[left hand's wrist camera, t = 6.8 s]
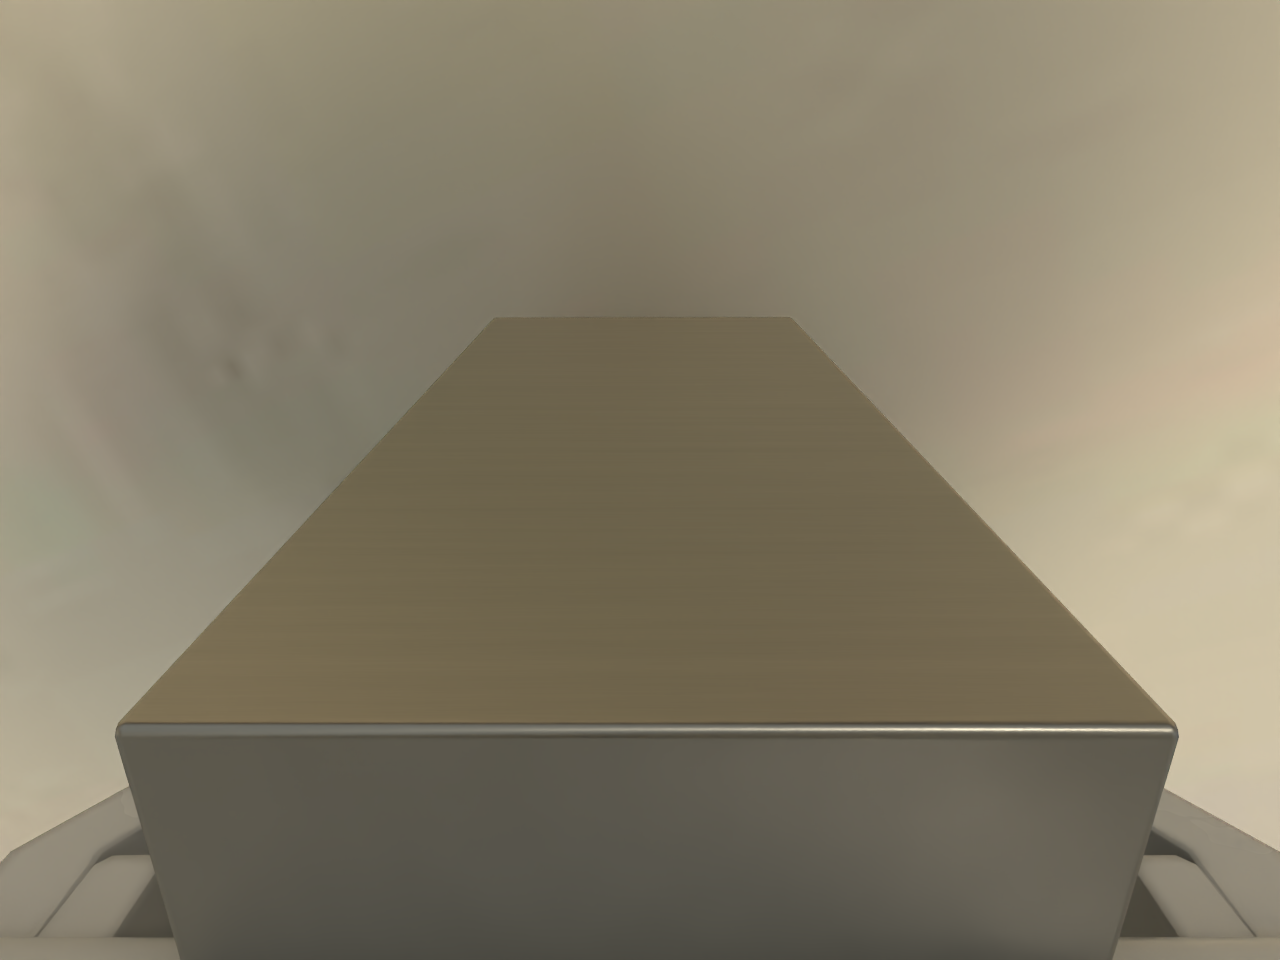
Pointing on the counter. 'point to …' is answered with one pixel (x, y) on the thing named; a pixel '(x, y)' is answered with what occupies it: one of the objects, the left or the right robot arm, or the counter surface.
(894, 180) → the counter surface
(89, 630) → the counter surface
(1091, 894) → the box
